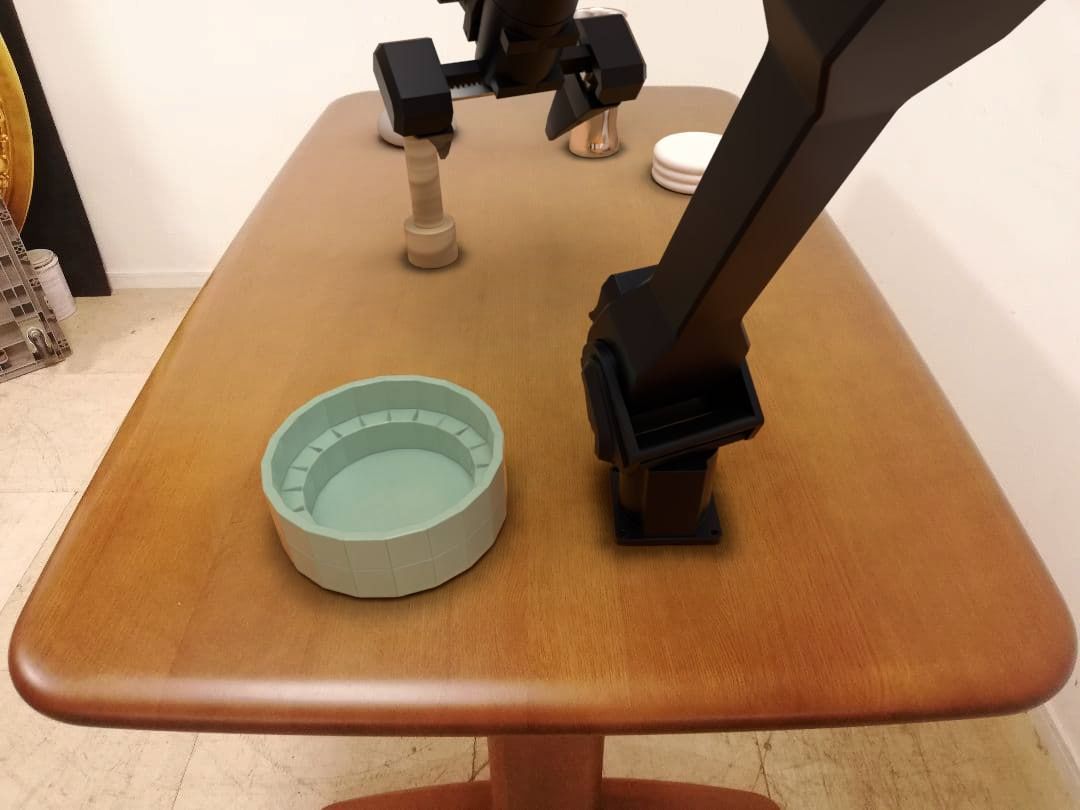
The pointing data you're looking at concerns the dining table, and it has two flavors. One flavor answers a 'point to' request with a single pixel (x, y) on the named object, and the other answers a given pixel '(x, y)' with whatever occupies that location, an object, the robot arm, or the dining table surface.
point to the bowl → (387, 484)
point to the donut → (391, 136)
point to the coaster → (683, 159)
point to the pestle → (427, 209)
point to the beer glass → (602, 129)
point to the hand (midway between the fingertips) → (496, 144)
